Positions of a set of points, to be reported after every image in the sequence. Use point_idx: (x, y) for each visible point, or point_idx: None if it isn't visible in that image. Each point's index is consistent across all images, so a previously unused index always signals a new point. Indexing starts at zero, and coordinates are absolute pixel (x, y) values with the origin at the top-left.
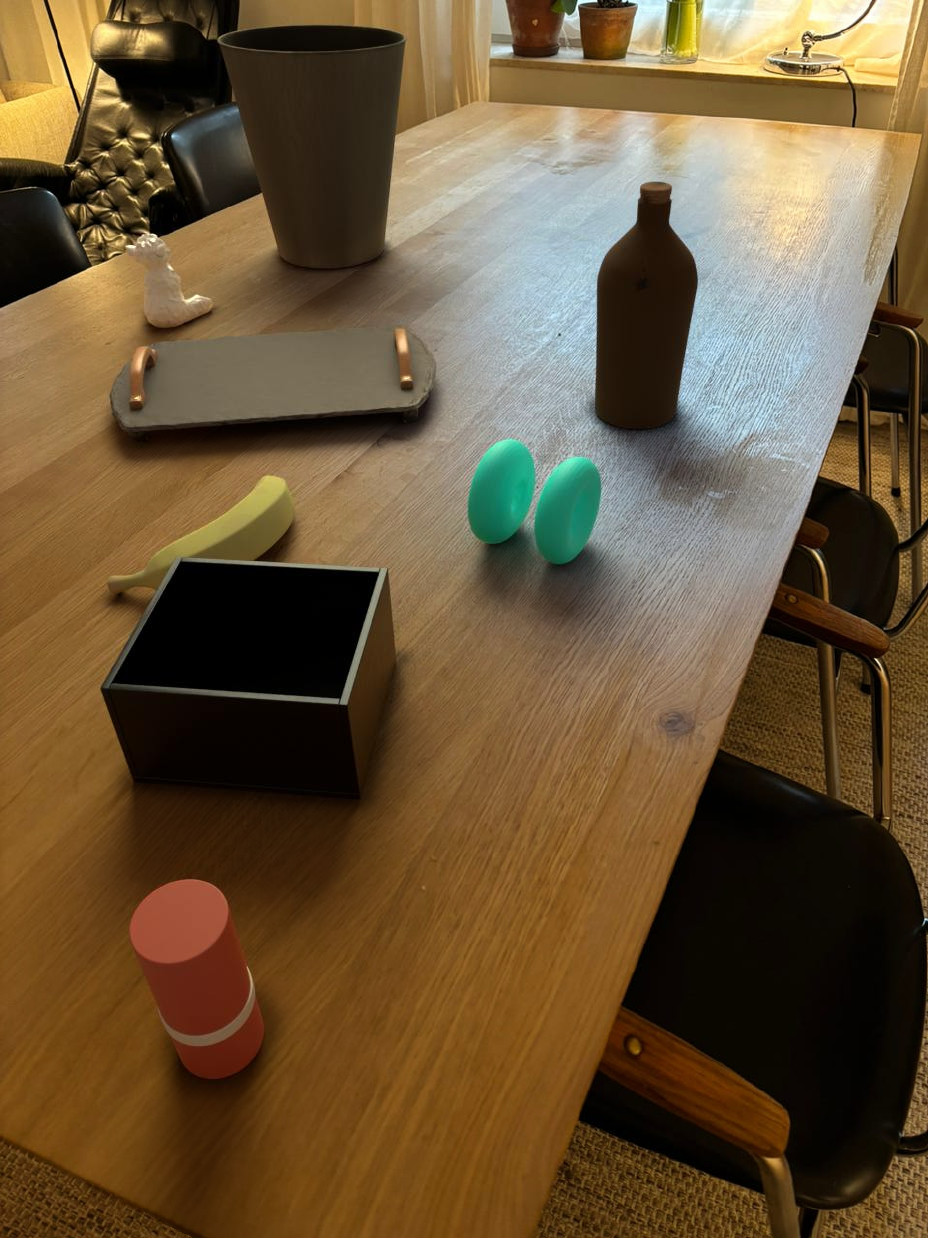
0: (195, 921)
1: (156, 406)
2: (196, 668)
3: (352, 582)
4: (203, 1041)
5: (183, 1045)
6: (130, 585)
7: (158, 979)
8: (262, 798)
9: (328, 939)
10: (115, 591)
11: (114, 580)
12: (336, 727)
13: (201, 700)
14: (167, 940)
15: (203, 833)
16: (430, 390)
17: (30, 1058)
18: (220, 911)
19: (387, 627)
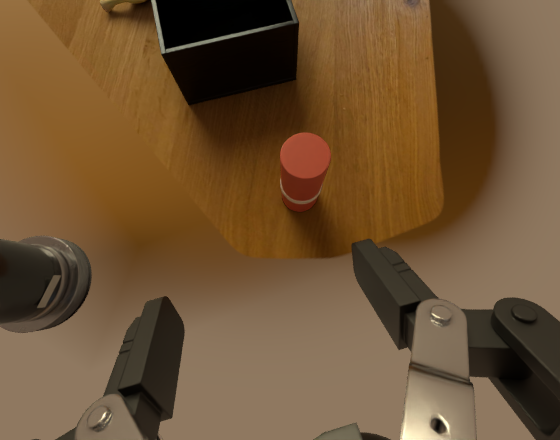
0: (314, 152)
1: None
2: (180, 39)
3: None
4: (311, 200)
5: (300, 204)
6: (114, 3)
7: (305, 184)
8: (252, 93)
9: None
10: (108, 10)
11: (104, 2)
12: (291, 39)
13: (219, 44)
14: (307, 166)
15: (236, 117)
16: None
17: (228, 230)
18: (322, 143)
19: None
